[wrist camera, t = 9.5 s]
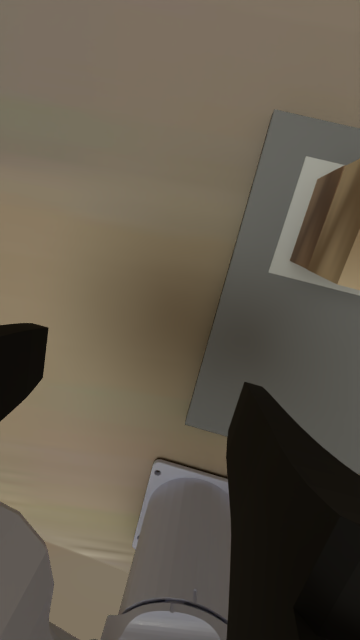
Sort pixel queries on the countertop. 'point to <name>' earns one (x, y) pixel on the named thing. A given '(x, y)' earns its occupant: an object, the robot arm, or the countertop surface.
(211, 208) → the countertop surface
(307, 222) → the walnut block
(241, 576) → the robot arm
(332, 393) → the build board
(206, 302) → the countertop surface
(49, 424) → the countertop surface
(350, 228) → the beech block
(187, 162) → the countertop surface
